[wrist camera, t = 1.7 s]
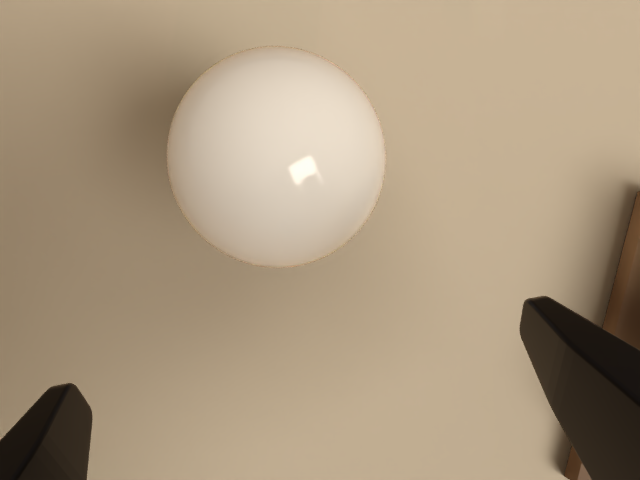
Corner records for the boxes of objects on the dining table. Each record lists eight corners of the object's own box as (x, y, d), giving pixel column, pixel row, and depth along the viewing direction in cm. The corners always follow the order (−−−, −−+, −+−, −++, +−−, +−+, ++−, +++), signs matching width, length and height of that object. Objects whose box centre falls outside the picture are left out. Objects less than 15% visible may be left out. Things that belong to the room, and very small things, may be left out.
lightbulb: (250, 133, 23) (190, -38, 12) (380, 175, 23) (436, 38, 12) (201, 260, 22) (88, 199, 11) (336, 306, 22) (354, 289, 11)
